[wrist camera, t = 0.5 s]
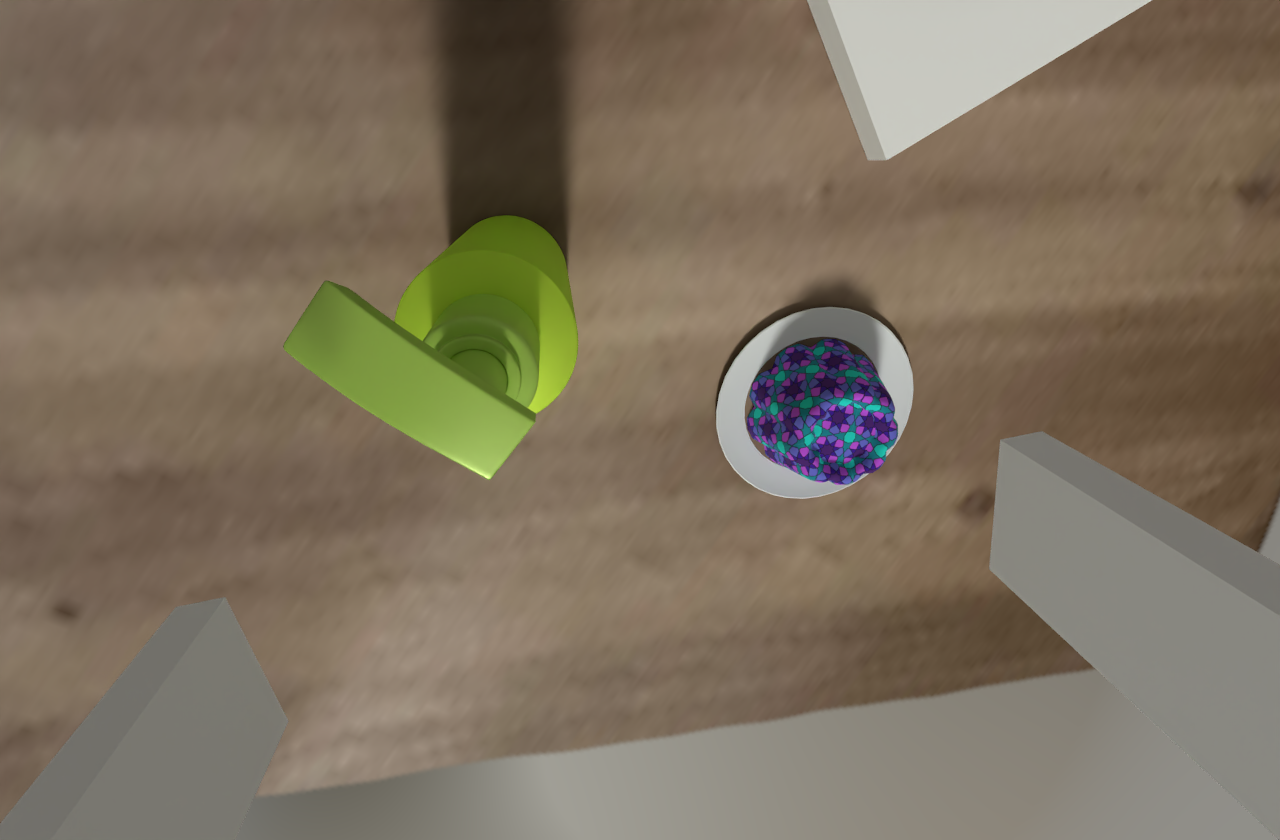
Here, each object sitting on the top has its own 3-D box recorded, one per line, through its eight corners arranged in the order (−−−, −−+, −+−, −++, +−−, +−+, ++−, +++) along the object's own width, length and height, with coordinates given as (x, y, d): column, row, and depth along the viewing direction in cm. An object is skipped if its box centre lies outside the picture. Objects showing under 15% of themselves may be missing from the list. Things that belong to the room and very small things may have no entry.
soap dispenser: (475, 175, 31) (369, 201, 13) (590, 264, 33) (642, 397, 15) (409, 273, 32) (225, 426, 14) (524, 352, 34) (496, 574, 16)
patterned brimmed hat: (935, 323, 37) (993, 348, 33) (868, 502, 42) (910, 548, 37) (742, 286, 35) (773, 306, 30) (692, 480, 39) (712, 525, 34)
